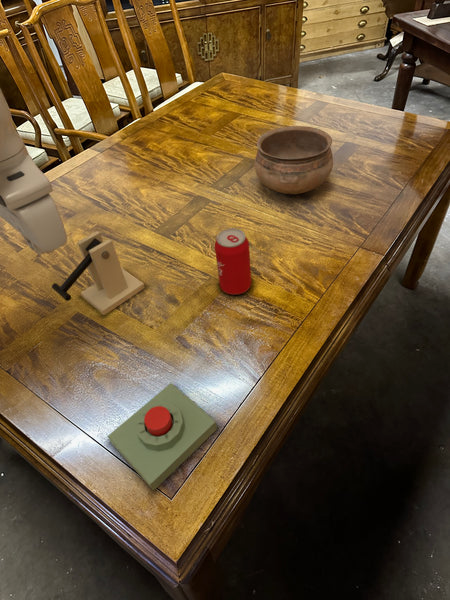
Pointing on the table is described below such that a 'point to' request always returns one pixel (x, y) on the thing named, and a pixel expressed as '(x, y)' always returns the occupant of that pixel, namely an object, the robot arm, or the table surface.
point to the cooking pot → (294, 159)
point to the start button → (158, 420)
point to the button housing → (163, 436)
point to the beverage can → (233, 261)
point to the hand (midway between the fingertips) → (39, 250)
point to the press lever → (75, 273)
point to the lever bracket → (107, 276)
